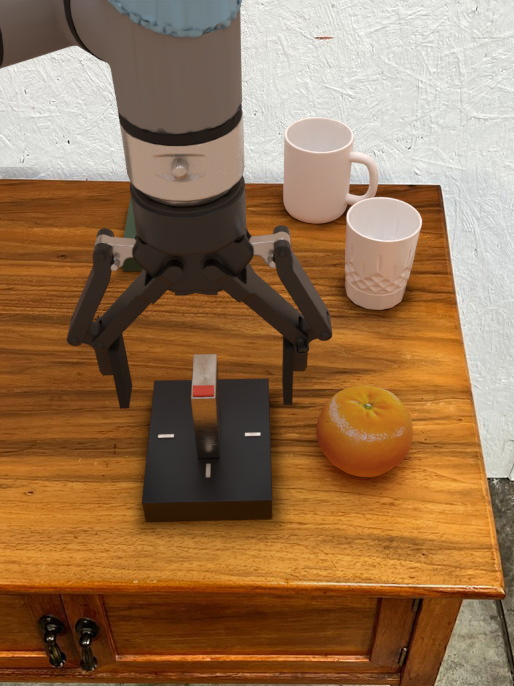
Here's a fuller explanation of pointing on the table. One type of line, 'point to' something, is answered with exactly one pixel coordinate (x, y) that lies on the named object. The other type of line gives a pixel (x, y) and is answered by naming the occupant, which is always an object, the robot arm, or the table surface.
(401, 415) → the fruit
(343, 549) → the table surface
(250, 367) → the table surface
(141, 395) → the table surface
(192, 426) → the panel
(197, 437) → the knob
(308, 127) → the cup
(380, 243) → the white cup
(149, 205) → the robot arm
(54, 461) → the table surface
